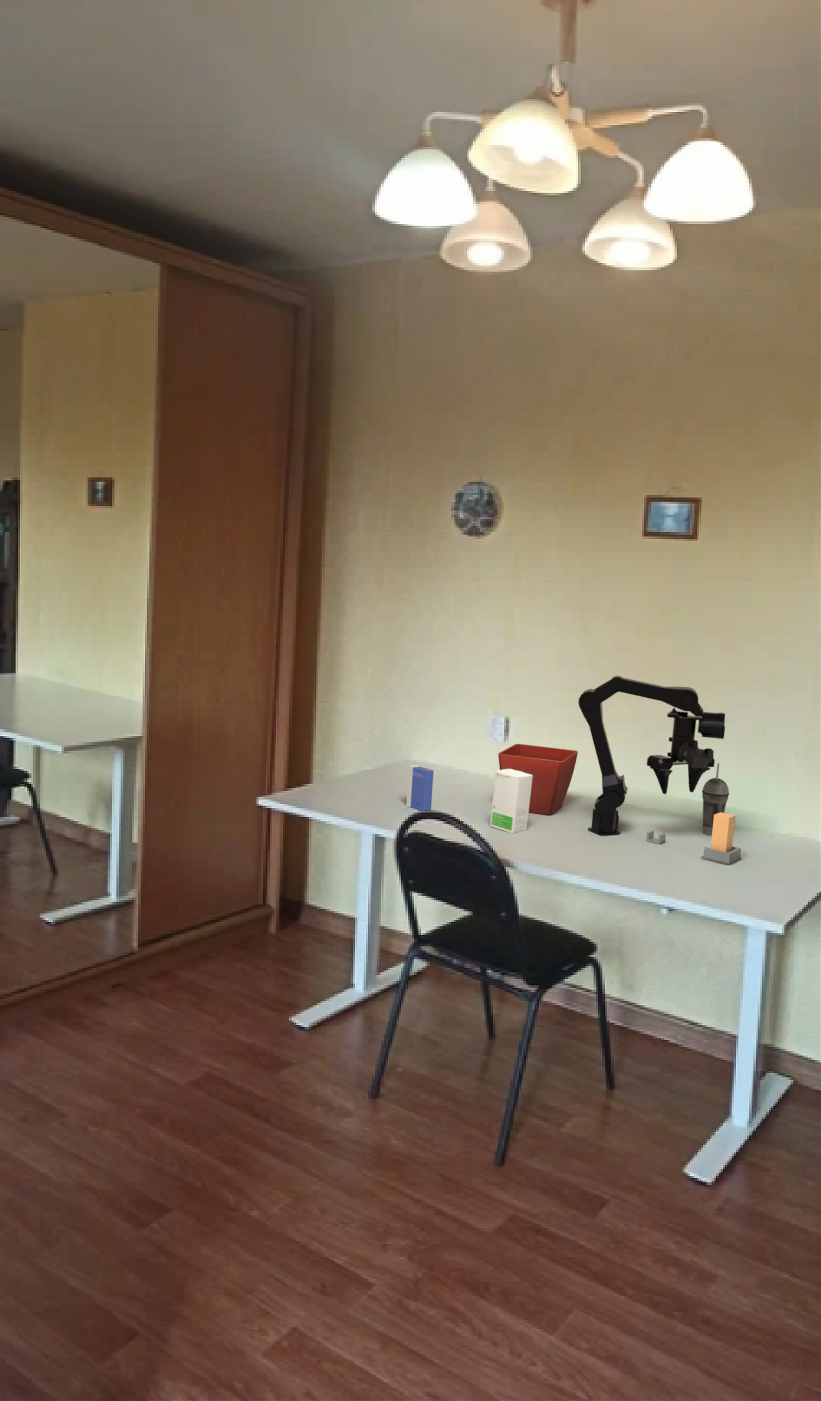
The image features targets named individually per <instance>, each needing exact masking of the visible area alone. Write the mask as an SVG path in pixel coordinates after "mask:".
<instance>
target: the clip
mask: <svg viewBox="0 0 821 1401" xmlns="http://www.w3.org/2000/svg"><path fill="white" fill-rule="evenodd" d="M666 837H667V834H666V833H661V834H658V838H657V837H655V831H654V830H651V831H647V832H646V839H645V840H646V842H648V843H653V844H656V845H663V844H665V843H666Z"/></svg>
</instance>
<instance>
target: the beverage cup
mask: <svg viewBox="0 0 821 1401" xmlns="http://www.w3.org/2000/svg"><path fill="white" fill-rule="evenodd" d="M719 772H720V763H717V764H716V775H715V777H713V778H710V779H708V780H707V781H706V782H705V783H704V785H703V786H702V790H701V793H702V794H701V795H702V796H701V797H702V833H703V834H704V835H707V836H712V830H713V821H714V815H715V814H717V813H720V812H722V813H725V811H726V806H727V802H728V799H729V796H730V789H729V787H728V784H727V783H726V781H724V780H723V779H721V778H719Z"/></svg>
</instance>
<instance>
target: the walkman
mask: <svg viewBox="0 0 821 1401" xmlns="http://www.w3.org/2000/svg"><path fill="white" fill-rule="evenodd" d="M407 773H408V774H407V775H408V776H407V787H406V801H405V802H406V803H405V804H406V807H408V806H409V808H412V809H415V810H417V811H420V812H423V811H425V810H431V811H432V799H433V798H432V797H433V784H434V770H433V769H432V768H430V767H423V766H420V765H415V764H414V765H408V772H407ZM425 812H426V811H425Z"/></svg>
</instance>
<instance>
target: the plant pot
mask: <svg viewBox="0 0 821 1401" xmlns="http://www.w3.org/2000/svg"><path fill="white" fill-rule="evenodd" d="M578 753H579V751H578V750H572V749H564V748H557V747H550V746H549V747H548V746H541V745H540V746H539V745H532V744H524V743H516V744H513V745H512V746H509V747H507V748H506V749H504V750H502V751H500V752H498V755H497V756H498V764H499V766H498V767H499V770H504V769H513V770H517V771H521V772H524V773H527V774H531V775H533V777H532V786H531V795H530V804H529V812H528V813H531V814H532V813H533V814H540V815H547V816H551V815H552V814H554V813H555V812H557V811H558V810H559V809H560V808H562V806H563V803H564V801H565V799H566V796H567V794H568V790H569V788H570V784H571V781H572V778H573V775H574V771H575V767H576V764H577V763H576V762H577V758H578Z"/></svg>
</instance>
